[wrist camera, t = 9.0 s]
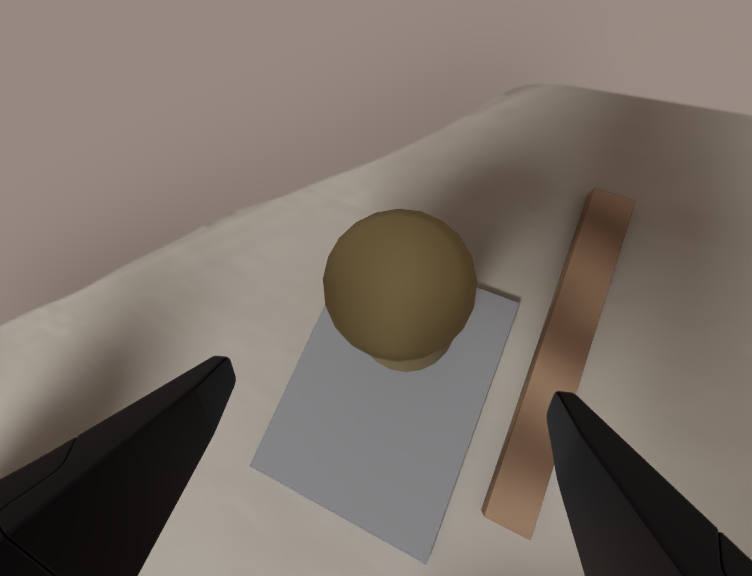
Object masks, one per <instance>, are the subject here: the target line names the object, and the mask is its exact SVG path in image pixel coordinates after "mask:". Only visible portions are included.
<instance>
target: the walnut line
mask: <svg viewBox="0 0 752 576" xmlns="http://www.w3.org/2000/svg"><path fill="white" fill-rule="evenodd" d="M634 205H635V200H632V199H629V198H625V197H622V196H618V195H615V194H612V193H608V192H605V191H602V190H598V189H594V190H593V191H592V192H591V193H590V194H589V195H588V197H587V200H586V203H585V206H584V209H583V212H582V215H581V218H580V221H579V224H578V226H577V229H576V232H575V235H574V238H573V241H572V244H571V247H570V250H569V253H568V256H567V259H566V262H565V265H564V268H563V271H562V274H561V277H560V280H559V283H558V285H557V288H556V291H555V294H554V297H553V300H552V303H551V306H550V309H549V312H548V315H547V318H546V321H545V324H544V327H543V330H542V333H541V336H540V339H539V342H538V344H537V347H536V350H535V353H534V356H533V359H532V362H531V365H530V368H529V371H528V374H527V377H526V380H525V383H524V386H523V389H522V392H521V395H520V398H519V401H518V403H517V406H516V409H515V412H514V415H513V418H512V421H511V424H510V427H509V430H508V433H507V436H506V439H505V442H504V445H503V448H502V451H501V454H500V457H499V460H498V462H497V465H496V468H495V471H494V474H493V477H492V480H491V483H490V486H489V489H488V492H487V495H486V498H485V501H484V504H483V507H482V510H481V511H482V513H483V515H484V517H486V518H488V519H490V520H492V521H494V522H496V523H498V524H499V525H501V526H503V527H505V528H507V529H509V530H511V531H513V532H515V533H517V534H519V535H521V536H523V537H525V538H527V539H529V540H531V537H532V534H533V531H534V528H535V525H536V521H537V518H538V515H539V512H540V508H541V505H542V502H543V499H544V495H545V492H546V489H547V486H548V482H549V479H550V476H551V473H552V470H553V466H554V460H553V454H552V448H551V443H550V437H549V431H548V426H547V419H546V415H547V410H548V408H549V405H550V402H551V400H552V397H553V395H554V393H555V392H556V391H564V392H572V393H574V394H575V395H576V392H577V389H578V386H579V382H580V379H581V376H582V373H583V369H584V366H585V363H586V360H587V356H588V353H589V350H590V347H591V344H592V340H593V337H594V334H595V331H596V327H597V324H598V321H599V318H600V314H601V311H602V308H603V305H604V301H605V298H606V295H607V292H608V289H609V285H610V282H611V279H612V276H613V272H614V269H615V266H616V263H617V259H618V256H619V253H620V250H621V247H622V243H623V240H624V237H625V234H626V230H627V227H628V224H629V221H630V217H631V214H632V211H633V208H634Z"/></svg>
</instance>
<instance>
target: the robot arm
mask: <svg viewBox="0 0 752 576" xmlns="http://www.w3.org/2000/svg"><path fill="white" fill-rule="evenodd" d="M235 382H236V377H235V373H234V370H233V367H232V364H231V361H230V359H229V358H228V357H224V356H213V357H211V358H209V359H208V360H206V361H204V362H203V363H201V364H199V365H197V366H196V367H194V368H192V369H191V370H189V371H187V372H186V373H184V374H182V375H180V376H179V377H177V378H175V379H174V380H172V381H170V382H168V383H167V384H165V385H163V386H162V387H160V388H158V389H157V390H155V391H153V392H151V393H150V394H148V395H146V396H145V397H143V398H141V399H140V400H138V401H136V402H134V403H133V404H131V405H129V406H128V407H126V408H124V409H123V410H121V411H119V412H117V413H116V414H114V415H112V416H111V417H109V418H107V419H105V420H104V421H102V422H100V423H99V424H97V425H95V426H94V427H92V428H90V429H88V430H87V431H85V432H83V433H82V434H80V435H78V437H77V438H73V439H71V440H70V441H68V442H66V443H64V444H63V445H61V446H59V447H58V448H56V449H54V450H52V451H51V452H49V453H47V454H45V455H44V456H42V457H40V458H38V459H37V460H35V461H33V462H31V463H30V464H28V465H26V466H24V467H22V468H20V469H18V470H17V471H15V472H13V473H11V474H9V475H7V476H5V477H4V478H2V479H0V576H138V574H139V572H140V570H141V569H142V567H143V565H144V563H145V561H146V559H147V558H148V556H149V554H150V552H151V550H152V548H153V546H154V545H155V543H156V541H157V539H158V537H159V535H160V533H161V532H162V530H163V528H164V526H165V524H166V522H167V520H168V519H169V517H170V515H171V513H172V511H173V509H174V507H175V506H176V504H177V502H178V500H179V498H180V496H181V494H182V493H183V491H184V489H185V487H186V485H187V483H188V482H189V480H190V478H191V476H192V474H193V472H194V470H195V469H196V467H197V465H198V463H199V461H200V459H201V457H202V456H203V454H204V452H205V450H206V448H207V446H208V444H209V443H210V441H211V439H212V437H213V435H214V433H215V431H216V428H217V426H218V424H219V421H220V419H221V417H222V414H223V412H224V409H225V407H226V405H227V402H228V400H229V398H230V395H231V393H232V390H233V388H234V385H235ZM546 419H547V426H548V431H549V437H550V443H551V448H552V454H553V460H554V465H555V471H556V476H557V481H558V484H559V488H560V492H561V495H562V499H563V502H564V505H565V509H566V512H567V516H568V519H569V523H570V526H571V529H572V533H573V536H574V540H575V543H576V547H577V550H578V553H579V557H580V560H581V564H582V567H583V571H584V574H585V576H752V560H751V559H750V558H749V557H748V556H746V555H745V554H744V553H743V552H742V551H741V550H740V549H739V548H738V547H737V546H736V545H735V544H734V543H733V542H732V541H731V540H729V539H728V538H727V537H726V536H725V535H724V534H723V533H721V532H718V529H717V527H715V526H714V525H713V524H712V523H711V522H710V521H709V520H708V519H707V518H706V517H705V516H704V515H703V514H702V513H701V512H700V511H699V510H697V509H696V508H695V507H694V506H693V505H692V504H691V503H690V502H689V501H688V500H687V499H686V498H685V497H684V496H683V495H682V494H681V493H679V492H678V491H677V490H676V489H675V488H674V487H673V486H672V485H671V484H670V483H669V482H668V481H667V480H666V479H665V478H664V477H663V476H661V475H660V474H659V473H658V472H657V471H656V470H655V469H654V468H653V467H652V466H651V465H650V464H649V463H648V462H647V461H646V460H645V459H643V458H642V457H641V456H640V455H639V454H638V453H637V452H636V451H635V450H634V449H633V448H632V447H631V446H630V445H629V444H628V443H626V442H625V441H624V440H623V439H622V438H621V437H620V436H619V435H618V434H617V433H616V432H615V431H614V430H613V429H612V428H611V427H610V426H608V425H607V424H606V423H605V422H604V421H603V420H602V419H601V418H600V417H599V416H598V415H597V414H596V413H595V412H594V411H593V410H592V409H590V408H589V407H588V406H587V405H586V404H585V403H584V402H583V401H582V400H581V399H580V398H579V397H578V396H577V395H575V394H574V393H572V392H564V391H556V392H555V393H554V395H553V397H552V400H551V402H550V405H549V408H548V410H547V415H546Z"/></svg>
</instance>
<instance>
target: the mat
mask: <svg viewBox="0 0 752 576" xmlns="http://www.w3.org/2000/svg"><path fill="white" fill-rule="evenodd" d="M518 306H519V303H517V302H515V301H512V300H509V299H507V298H504V297H501V296H499V295H496V294H493V293H491V292H488V291H485V290H483V289H480V288H477V289H476V297H475V305H474V309H473V311H472V313H471V315H470V317H469V319H468V321H467V323H466V325H465V327H464V329H463V330H462V331H461V332H460V333H459V334H458V335H457V336H456V337H455V338H454V339H453V341H452V343H451V345H450V347H449V349H448V351H447V352H446V353H445V354H444V355H443V356H442V357H441V358H440V359H439V360H438V361H437V362H436V363H435V364H433V365H431V366H429V367H426V368H424V369H422V370H418V371H410V372H402V371H397V370H392V369H389V368H387V367H385V366H383V365H382V364H380V363H378V362H376V361H375V360H374V359H373V358H372V357H371V356H370V355H368V354H366V353H364V352H363V351H361V350H359V349H357V348H356V347H354V346H352V345H351V344H350V343H349V342H348V341H347V340H346V339H345V338H344V337H343V336H342V334H341V333H340V332H339V331H338V330H337V329H336V328H335V326H334V324H333V322H332V319H331V317H330V315H329V312H328V310H327V308H326V305H325V306H324V308H323V310H322V312H321V314H320V316H319V318H318V321H317V323H316V325H315V327H314V329H313V331H312V333H311V336H310V338H309V340H308V342H307V344H306V346H305V348H304V351H303V353H302V355H301V357H300V359H299V361H298V363H297V366H296V368H295V370H294V372H293V374H292V376H291V378H290V381H289V383H288V385H287V387H286V389H285V391H284V393H283V396H282V398H281V400H280V402H279V404H278V406H277V408H276V411H275V413H274V415H273V417H272V419H271V421H270V423H269V426H268V428H267V430H266V432H265V434H264V436H263V438H262V441H261V443H260V445H259V447H258V449H257V451H256V453H255V456H254V458H253V460H252V462H251V464H250V466H251V467H253V468H255V469H256V470H258V471H260V472H262V473H264V474H265V475H267V476H269V477H271V478H273V479H274V480H276V481H278V482H280V483H281V484H283V485H285V486H287V487H289V488H290V489H292V490H294V491H296V492H298V493H299V494H301V495H303V496H305V497H306V498H308V499H310V500H312V501H314V502H315V503H317V504H319V505H321V506H323V507H324V508H326V509H328V510H330V511H331V512H333V513H335V514H337V515H339V516H340V517H342V518H344V519H346V520H348V521H349V522H351V523H353V524H355V525H356V526H358V527H360V528H362V529H364V530H365V531H367V532H369V533H371V534H373V535H374V536H376V537H378V538H380V539H381V540H383V541H385V542H387V543H389V544H390V545H392V546H394V547H396V548H398V549H399V550H401V551H403V552H405V553H406V554H408V555H410V556H412V557H414V558H415V559H417V560H419V561H421V562H423V563H424V564H427V561H428V558H429V555H430V552H431V550H432V547H433V544H434V541H435V538H436V536H437V533H438V530H439V527H440V524H441V522H442V519H443V516H444V513H445V510H446V508H447V505H448V502H449V499H450V496H451V494H452V491H453V488H454V485H455V482H456V480H457V477H458V474H459V471H460V468H461V466H462V463H463V460H464V457H465V454H466V452H467V449H468V446H469V443H470V440H471V438H472V435H473V432H474V429H475V426H476V424H477V421H478V418H479V415H480V412H481V410H482V407H483V404H484V401H485V398H486V396H487V393H488V390H489V387H490V384H491V382H492V379H493V376H494V373H495V370H496V368H497V365H498V362H499V359H500V356H501V354H502V351H503V348H504V345H505V342H506V340H507V337H508V334H509V331H510V328H511V326H512V323H513V320H514V317H515V314H516V312H517V309H518Z"/></svg>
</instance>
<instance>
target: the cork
mask: <svg viewBox="0 0 752 576" xmlns="http://www.w3.org/2000/svg"><path fill="white" fill-rule="evenodd" d="M323 284H324V295H325V305H326V308H327V310H328V312H329V315H330V317H331V319H332V322H333V324H334V326H335V328H336V329H337V330H338V331H339V332H340V333H341V334H342V336H343V337H344V338H345V339H346V340H347V341H348V342H349V343H350V344H351V345H352V346H354V347H356V348H357V349H359V350H361V351H363V352H364V353H366V354H368V355H370V356H371V357H372V358H373V359H374V360H375V361H376V362H378V363H380V364H382V365H383V366H385V367H387V368H389V369H392V370H397V371H402V372H410V371H418V370H422V369H424V368H426V367H429V366H431V365H433V364H435V363H436V362H437V361H438V360H439V359H440V358H441V357H442V356H443V355H444V354H445V353H446V352H447V351H448V349H449V347H450V345H451V343H452V341H453V339H454V338H455V337H456V336H457V335H458V334H459V333H460V332H461V331H462V330H463V329H464V327H465V325H466V323H467V321H468V319H469V317H470V315H471V313H472V311H473V309H474V305H475V297H476V289H477V280H476V275H475V270H474V265H473V261H472V257H471V255H470V253H469V251H468V250H467V248H466V246H465V245H464V243H463V241H462V239H461V238H460V236H459V235H458V234H457V233H455V232H454V231H453V230H452V229H451V228H450V227H449V226H447V225H446V224H445V223H444V222H443V221H441V220H439V219H437V218H435V217H432V216H430V215H428V214H425V213H423V212H420V211H412V210H404V209H395V210H389V211H383V212H377V213H375V214H373V215H370V216H368V217H366V218H364V219H362V220H360V221H358V222H356V223H355V224H354V225H353V226H352V227H351V228H350V229H348V230H347V231H346V232H345V233H344V234H343V235H342V236H341V237H340V238H339V239H338V241H337V243H336V244H335V246H334V248H333V250H332V251H331V253H330V255H329V256H328V260H327V264H326V268H325V273H324V277H323Z"/></svg>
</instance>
